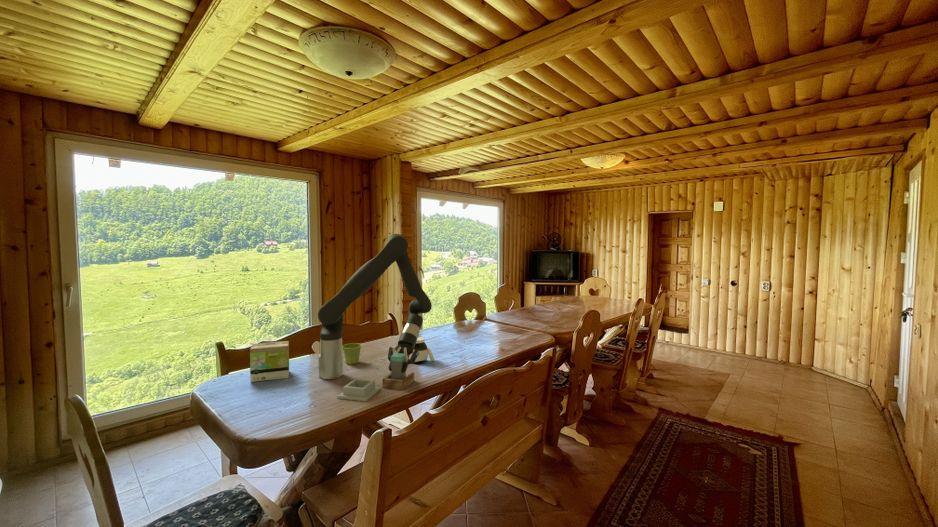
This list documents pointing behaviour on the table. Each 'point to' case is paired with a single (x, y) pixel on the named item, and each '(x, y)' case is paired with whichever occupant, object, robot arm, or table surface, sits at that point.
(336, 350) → the robot arm
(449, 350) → the table surface
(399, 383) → the cradle
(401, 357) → the plug
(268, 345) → the tea box
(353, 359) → the plant pot
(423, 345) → the spread jar
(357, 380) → the port block
